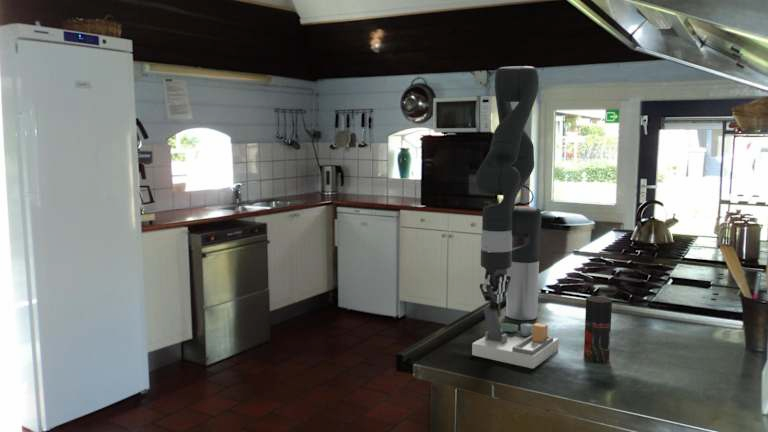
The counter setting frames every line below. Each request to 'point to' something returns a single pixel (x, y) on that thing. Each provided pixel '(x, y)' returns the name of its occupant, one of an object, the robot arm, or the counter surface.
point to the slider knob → (539, 332)
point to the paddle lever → (492, 324)
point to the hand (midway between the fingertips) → (494, 316)
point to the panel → (515, 349)
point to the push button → (526, 329)
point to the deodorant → (597, 329)
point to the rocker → (509, 327)
